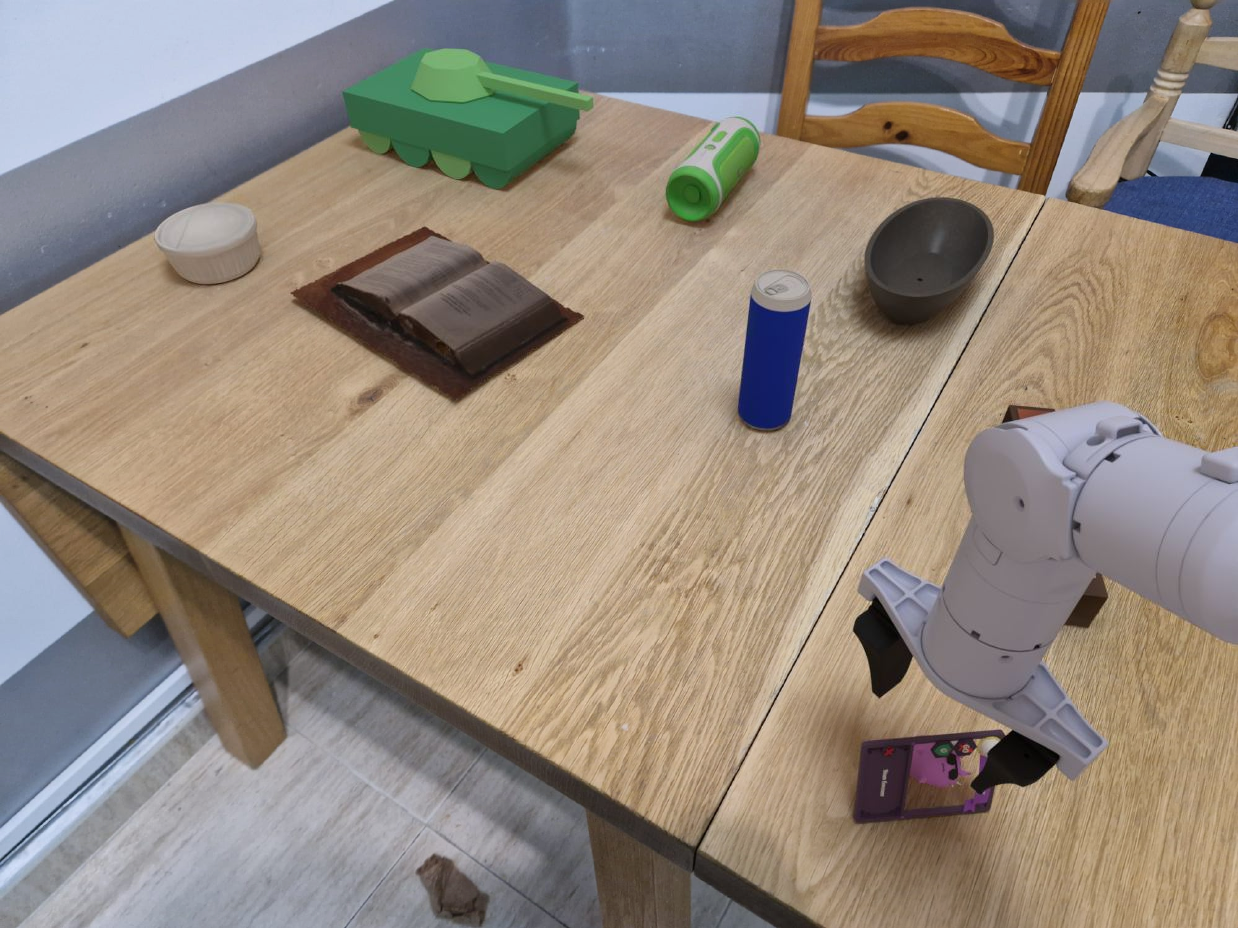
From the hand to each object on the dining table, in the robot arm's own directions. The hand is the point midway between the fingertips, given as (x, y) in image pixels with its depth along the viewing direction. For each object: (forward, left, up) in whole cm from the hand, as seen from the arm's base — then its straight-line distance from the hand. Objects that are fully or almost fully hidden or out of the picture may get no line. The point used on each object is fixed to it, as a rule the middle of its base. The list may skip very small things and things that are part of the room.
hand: (933, 731), depth 53 cm
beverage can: (+33, -17, -7) cm, 38 cm away
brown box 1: (+15, -33, -7) cm, 37 cm away
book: (+68, 0, -7) cm, 68 cm away
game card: (0, 0, -7) cm, 7 cm away
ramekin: (+92, +17, -7) cm, 94 cm away
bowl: (+38, -45, -7) cm, 59 cm away
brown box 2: (+3, -21, -7) cm, 22 cm away
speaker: (+69, -41, -7) cm, 81 cm away
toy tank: (+97, -24, -7) cm, 101 cm away
